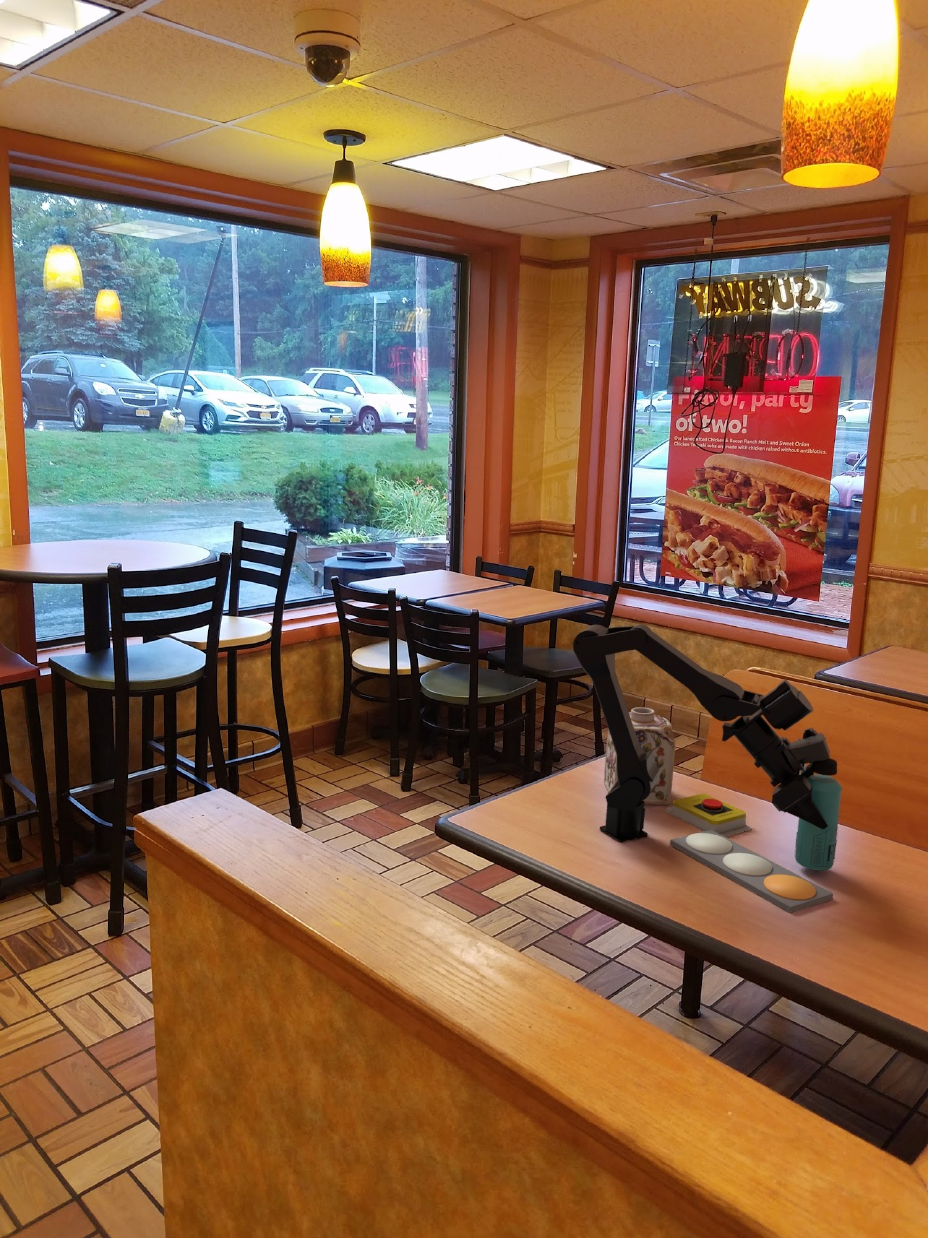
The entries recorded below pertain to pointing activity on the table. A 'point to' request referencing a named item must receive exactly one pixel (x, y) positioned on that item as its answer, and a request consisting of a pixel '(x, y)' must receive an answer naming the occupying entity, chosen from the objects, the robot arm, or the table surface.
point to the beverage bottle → (821, 843)
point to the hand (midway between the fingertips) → (826, 817)
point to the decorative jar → (650, 736)
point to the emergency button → (710, 814)
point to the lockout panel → (752, 871)
